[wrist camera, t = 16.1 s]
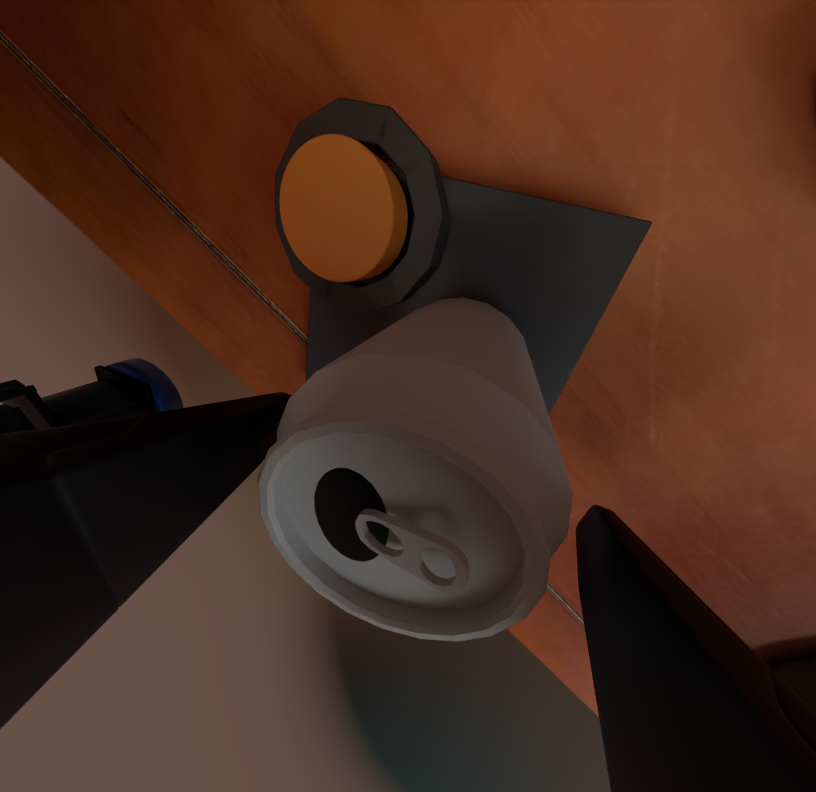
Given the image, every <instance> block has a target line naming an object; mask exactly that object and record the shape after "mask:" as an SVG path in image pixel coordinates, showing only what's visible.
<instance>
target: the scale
mask: <svg viewBox="0 0 816 792" xmlns="http://www.w3.org/2000/svg"><path fill="white" fill-rule="evenodd" d="M324 134H340V135H344V136H348V137H351V138H353V139H355V140H357V141H358V142H360V143H361V144H363V145H364V146H365V147H367V148H368V149H369V150H370V151H371V152H372V153H374V154H377V155H381V156H386V157H389V158H390V159H391V160H392V161H393V162H394V163H395V164H396V166H397V167H396V166H391V165H387V164H386V165H387V166H388V167H389V168H390V169H391V170H392V171H393V173H394V174H395V176H396V177H397V179H398V181H399V182H400V185H401V187H402V189H403V192H404V195H405V199H406V204H407V211H408V227H407V234H406V238H405V242H404V244H403V247H402V249H401V251H400V253H399V255H398V257H397V258H396V260H395V261H394V262H393V264H392V265H391V266H390V267H389V268H388V269H387V270H385V271H384V272H383V273H381V274H379V275H377V276H375V277H373V278H369V279H364V280H357V281H351V282H334V281H329V280H327V279H324V278H322V277H320V276H318V275H316V274H315V273H313V272H312V271H310V270H309V269H308V268H307V267H306V266H305V265H304V264H303V263H302V262H301V261H300V260H299V259H298V257H297V256H296V254H295V253H294V251H293V250H292V248H291V246H290V244H289V242H288V240H287V238H286V235H285V232H284V229H283V225H282V221H281V215H280V202H279V201H280V189H281V182H282V179H283V175H284V172H285V170H286V167H287V165H288V163H289V161H290V159H291V158H292V156H293V155H294V154H295V152H296V151H297V150H298V149H299V148H300V147H301V146H302V145H303V144H305V143H306V142H307V141H309V140H311V139H313V138H315V137H317V136H321V135H324ZM276 173H277V174H276V175H275V209H276V229H277V231H278V234H279V236H280V239H281V241H282V244H283V246H284V249H285V251H286V254H287V256H288V259H289V261H290V264H291V266H292V269H293V271H294V272H295V273H296V274H297V275H298V276H299V277H300V278H301V279H302V280H303V281H304V282H305V283H306V284H307V285H308V286H309V287H310V288H311V293H310V312H309V330H308V349H307V368H306V381H307V380H308V379H309V378H310V377H311V376H312V375H313V374H314V373H315V372H316V371H318V370H320V369H321V368H323V367H325V366H326V365H328V364H329V363H331V362H333V361H334V360H336V359H337V358H339V357H341V356H342V355H344V354H345V353H347V352H349V351H350V350H352V349H354V348H355V347H357V346H358V345H360V344H362V343H363V342H365V341H366V340H368V339H370V338H371V337H373V336H375V335H376V334H378V333H379V332H381V331H383V330H384V329H386V328H387V327H389V326H391V325H392V324H394V323H395V322H397V321H399V320H400V319H402V318H404V317H405V316H407V315H408V314H410V313H412V312H413V311H415V310H416V309H418V308H420V307H423V306H425V305H427V304H430V303H432V302H434V301H437V300H439V299H449V298H462V297H464V298H468V299H472V300H476V301H480V302H484V303H488V304H489V305H491V306H492V307H494V308H495V309H497V310H498V311H500V312H502V313H503V314H505V315H506V316H508V317H509V318H510V320H511V321H512V322H513V324H514V325H515V326H516V328H517V329H518V330H519V332H520V333H521V334H522V336H523V338H524V341H525V344H526V347H527V350H528V353H529V356H530V359H531V362H532V366H533V369H534V372H535V375H536V378H537V381H538V384H539V387H540V390H541V394H542V397H543V400H544V403H545V406H546V409H547V412H548V415H549V413H550V411H551V409H552V408H553V406H554V404H555V402H556V400H557V398H558V396H559V395H560V393H561V391H562V389H563V387H564V385H565V383H566V382H567V380H568V378H569V376H570V374H571V372H572V370H573V369H574V367H575V365H576V363H577V361H578V359H579V357H580V356H581V354H582V352H583V350H584V348H585V346H586V344H587V343H588V341H589V339H590V337H591V335H592V333H593V331H594V330H595V328H596V326H597V324H598V322H599V320H600V318H601V317H602V315H603V313H604V311H605V309H606V307H607V305H608V304H609V302H610V300H611V298H612V296H613V294H614V292H615V291H616V289H617V287H618V285H619V283H620V281H621V279H622V278H623V276H624V274H625V272H626V270H627V268H628V266H629V265H630V263H631V261H632V259H633V257H634V255H635V253H636V252H637V250H638V248H639V246H640V244H641V242H642V241H643V239H644V237H645V235H646V233H647V231H648V229H649V228H650V226H651V224H652V222H651V221H647V220H642V219H637V218H633V217H628V216H624V215H619V214H614V213H610V212H605V211H600V210H596V209H591V208H586V207H582V206H577V205H572V204H568V203H563V202H559V201H554V200H549V199H545V198H540V197H535V196H531V195H526V194H521V193H517V192H512V191H507V190H503V189H498V188H494V187H489V186H484V185H480V184H475V183H470V182H466V181H461V180H456V179H452V178H447V177H442V176H441V175H440V170H439V165H438V164H437V161H436V160H435V158H434V157H433V155H432V154H431V152H430V150H429V149H428V148H427V147H426V146H425V145H424V143H423V142H422V141H421V140H420V139H419V138H418V137H417V135H416V134H415V133H414V132H413V131H412V130H411V129H410V127H409V126H408V125H407V124H406V123H405V122H404V121H403V119H402V118H401V117H400V116H399V115H398V114H397V113H396V111H395V110H394V109H393V108H390V107H389V106H384V105H378V104H373V103H367V102H362V101H357V100H351V99H346V98H338V99H336V100H335V101H333V102H331V103H330V104H328V105H327V106H325V107H324V108H322V109H320V110H319V111H317V112H316V113H314V114H312V115H311V116H309V117H308V118H306V119H305V120H303V121H301V122H300V123H298V126H297V127H296V129H295V131H294V133H293V136H292V138H291V140H290V142H289V144H288V147H287V149H286V151H285V153H284V155H283V158H282V160H281V162H280V164H279V166H278V168H277V171H276Z"/></svg>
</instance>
